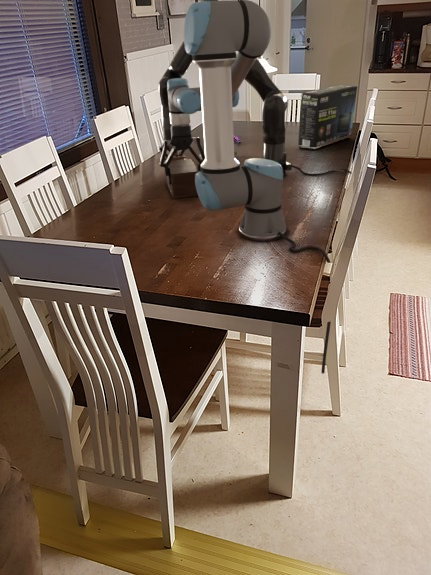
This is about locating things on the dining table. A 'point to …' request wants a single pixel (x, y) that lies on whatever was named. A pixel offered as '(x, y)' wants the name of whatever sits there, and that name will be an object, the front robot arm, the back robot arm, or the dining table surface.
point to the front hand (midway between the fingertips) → (184, 182)
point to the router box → (326, 115)
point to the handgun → (237, 139)
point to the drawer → (177, 158)
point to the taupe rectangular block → (182, 178)
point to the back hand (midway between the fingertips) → (174, 167)
